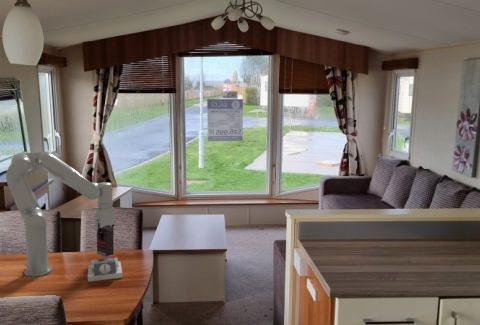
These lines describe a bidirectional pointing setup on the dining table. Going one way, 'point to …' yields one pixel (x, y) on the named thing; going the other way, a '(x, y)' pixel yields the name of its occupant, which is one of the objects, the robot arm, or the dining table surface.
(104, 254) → the supplement box
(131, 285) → the dining table surface
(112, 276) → the scale base
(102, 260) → the pan
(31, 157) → the robot arm
